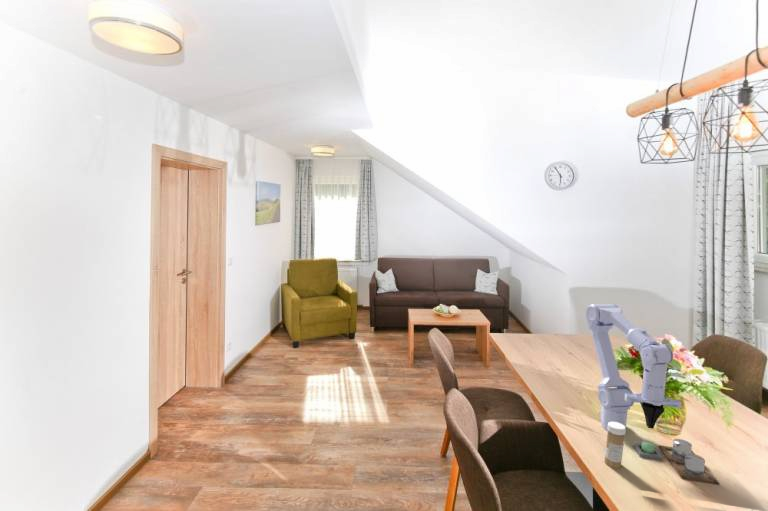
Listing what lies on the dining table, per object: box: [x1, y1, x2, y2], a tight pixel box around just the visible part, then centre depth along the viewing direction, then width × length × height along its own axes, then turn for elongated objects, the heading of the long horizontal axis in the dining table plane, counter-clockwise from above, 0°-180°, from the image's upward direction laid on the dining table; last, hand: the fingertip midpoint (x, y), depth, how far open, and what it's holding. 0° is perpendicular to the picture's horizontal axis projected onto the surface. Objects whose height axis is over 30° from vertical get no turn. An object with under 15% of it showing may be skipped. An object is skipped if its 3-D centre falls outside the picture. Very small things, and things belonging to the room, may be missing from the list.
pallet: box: [658, 444, 720, 486], centre depth 122 cm, size 17×9×2 cm, turn 165°
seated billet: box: [671, 438, 693, 461], centre depth 125 cm, size 4×4×6 cm
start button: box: [640, 440, 656, 454], centre depth 127 cm, size 3×3×3 cm
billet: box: [683, 453, 706, 478], centre depth 117 cm, size 4×4×6 cm
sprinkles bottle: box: [603, 422, 627, 469], centre depth 120 cm, size 5×5×13 cm
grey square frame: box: [632, 442, 663, 461], centre depth 127 cm, size 6×6×2 cm
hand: (649, 426), depth 126 cm, fingers closed
